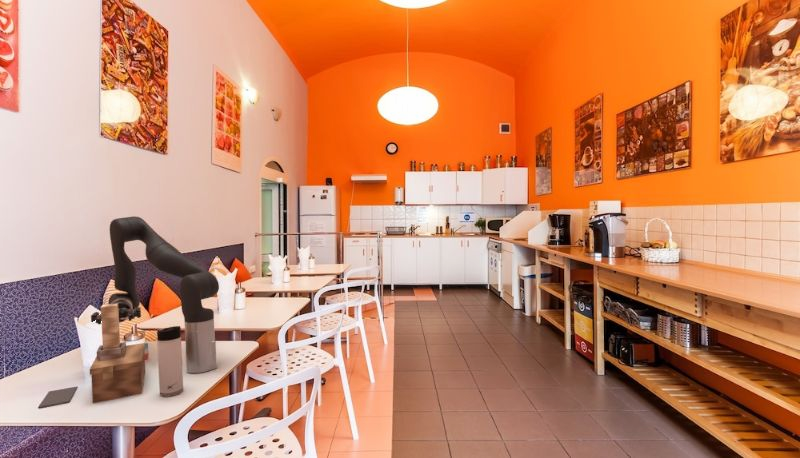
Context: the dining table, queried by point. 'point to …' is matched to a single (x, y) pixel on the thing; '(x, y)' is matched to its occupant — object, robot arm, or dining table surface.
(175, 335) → the travel mug
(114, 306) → the wooden block
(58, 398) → the rubber mat
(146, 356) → the yogurt
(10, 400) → the dining table surface
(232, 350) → the dining table surface
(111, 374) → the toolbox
